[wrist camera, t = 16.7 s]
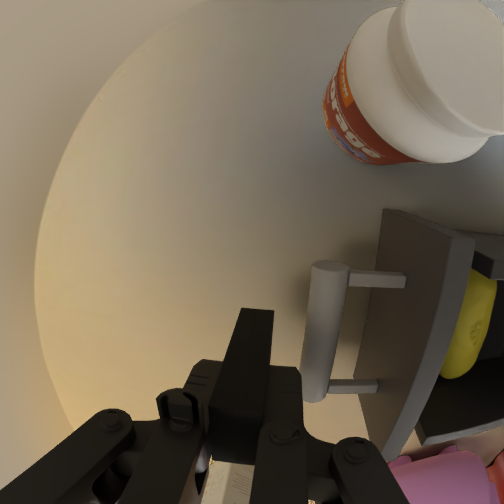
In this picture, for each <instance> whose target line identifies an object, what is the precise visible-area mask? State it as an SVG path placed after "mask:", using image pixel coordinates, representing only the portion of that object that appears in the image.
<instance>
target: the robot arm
mask: <svg viewBox="0 0 504 504" xmlns="http://www.w3.org/2000/svg"><path fill="white" fill-rule="evenodd" d="M273 321H274V310H263V309H250V308H241V310H240V313H239V316H238V319H237V322H236V325H235V328H234V331H233V334H232V337H231V340H230V343H229V346H228V349H227V352H226V355H225V358H224V361H223V362H222V361H214V360H206V359H202V360H201V361H199V362H198V363H197V364H195V365H194V366H193V368H192V370H191V372H190V375H189V377H188V379H187V381H186V383H185V385H184V387H183V388H175V389H169V390H166V391H164V392H162V393H161V394H160V395H159V396H158V397H157V398H156V402H157V406H158V411H159V416H160V419H157V420H151V421H132V419H131V417H130V415H129V414H127V413H126V412H125V411H122V410H119V409H105V410H102V411H100V412H98V413H96V414H95V415H94V416H92V417H91V418H90V419H89V420H88V421H86V422H85V423H84V424H83V425H82V426H80V427H79V428H78V429H77V430H75V431H74V432H73V433H72V434H71V435H70V436H68V437H67V438H66V439H65V440H63V441H62V442H61V443H59V445H57V446H56V447H55V448H54V449H52V450H51V451H50V452H48V453H47V454H46V455H45V456H43V457H42V458H41V459H40V460H38V461H37V462H36V463H35V464H33V465H32V466H31V467H30V468H28V469H27V470H26V471H24V472H23V473H22V474H21V475H19V476H18V477H17V478H15V479H14V480H13V481H12V482H10V483H9V484H8V485H6V486H5V487H4V488H3V489H1V490H0V504H201V501H202V498H203V494H204V490H205V487H206V483H207V479H208V476H209V461H210V458H211V454H212V460H214V461H220V462H227V463H235V464H243V465H253V466H255V467H254V473H253V480H252V487H251V493H250V500H249V504H308V499H309V500H313V501H315V503H316V504H410V503H409V501H408V499H407V498H406V496H405V494H404V492H403V491H402V489H401V487H400V486H399V484H398V482H397V480H396V479H395V477H394V475H393V474H392V472H391V470H390V469H389V467H388V465H387V463H386V462H385V460H384V458H383V457H382V455H381V453H380V451H379V450H378V448H377V447H376V446H375V445H374V444H373V443H372V442H371V441H369V440H367V439H365V438H360V437H348V438H345V439H343V440H340V441H339V442H338V443H337V444H332V443H328V442H324V441H321V440H318V439H316V438H314V437H313V436H311V435H310V434H309V433H308V432H307V430H306V429H305V427H304V421H303V395H302V375H301V374H300V372H299V371H298V370H297V368H296V367H288V366H273V365H270V357H271V345H272V333H273Z"/></svg>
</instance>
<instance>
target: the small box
mask: <svg viewBox="0 0 504 504" xmlns="http://www.w3.org/2000/svg"><path fill="white" fill-rule="evenodd" d="M254 467H255V466H253V465H243V464H235V463H227V462H220V461H216V462H215V463H213V464H211V465H209V476H208V479H207V483H206V487H205V490H204V494H203V498H202V501H201V504H249V500H250V493H251V487H252V480H253V473H254Z"/></svg>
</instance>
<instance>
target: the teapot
mask: <svg viewBox="0 0 504 504" xmlns="http://www.w3.org/2000/svg"><path fill="white" fill-rule="evenodd" d="M456 449H457V446H455V445H453V446H449V447H447V448H445V449H444V450H442V451H441V452H440V453H439V454H438V455H436V456H432V457H429V458H425V459H421V460H418V461H414V462H412V461H411V458H410V456H400V457H398V458H397V459H396V460H394V461H391V462H390V463H389V464H388V467H389V469H390V470H391V472H392V474H393V475H394V477H395V479H396V480H397V482H398V484H399V486H400V487H401V489H402V491H403V492H404V494H405V496H406V498H407V499H408V501H409V503H410V504H500V501H499V497H498V493H497V489H496V485H495V483H492V482H489V478H488V474H487V470H486V467H485V465H484V462H483V460H482V459H481V458H480V457H479V456H478V455H476V454H475V453H473V452H471V451H458V452H456Z"/></svg>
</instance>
